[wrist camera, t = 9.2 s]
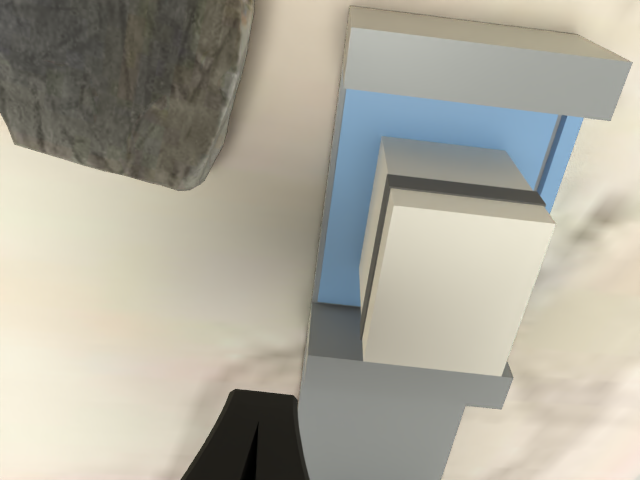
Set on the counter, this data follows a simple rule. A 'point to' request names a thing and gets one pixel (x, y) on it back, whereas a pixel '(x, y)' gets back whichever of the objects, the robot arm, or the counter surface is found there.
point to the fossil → (124, 82)
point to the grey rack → (354, 200)
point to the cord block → (448, 256)
